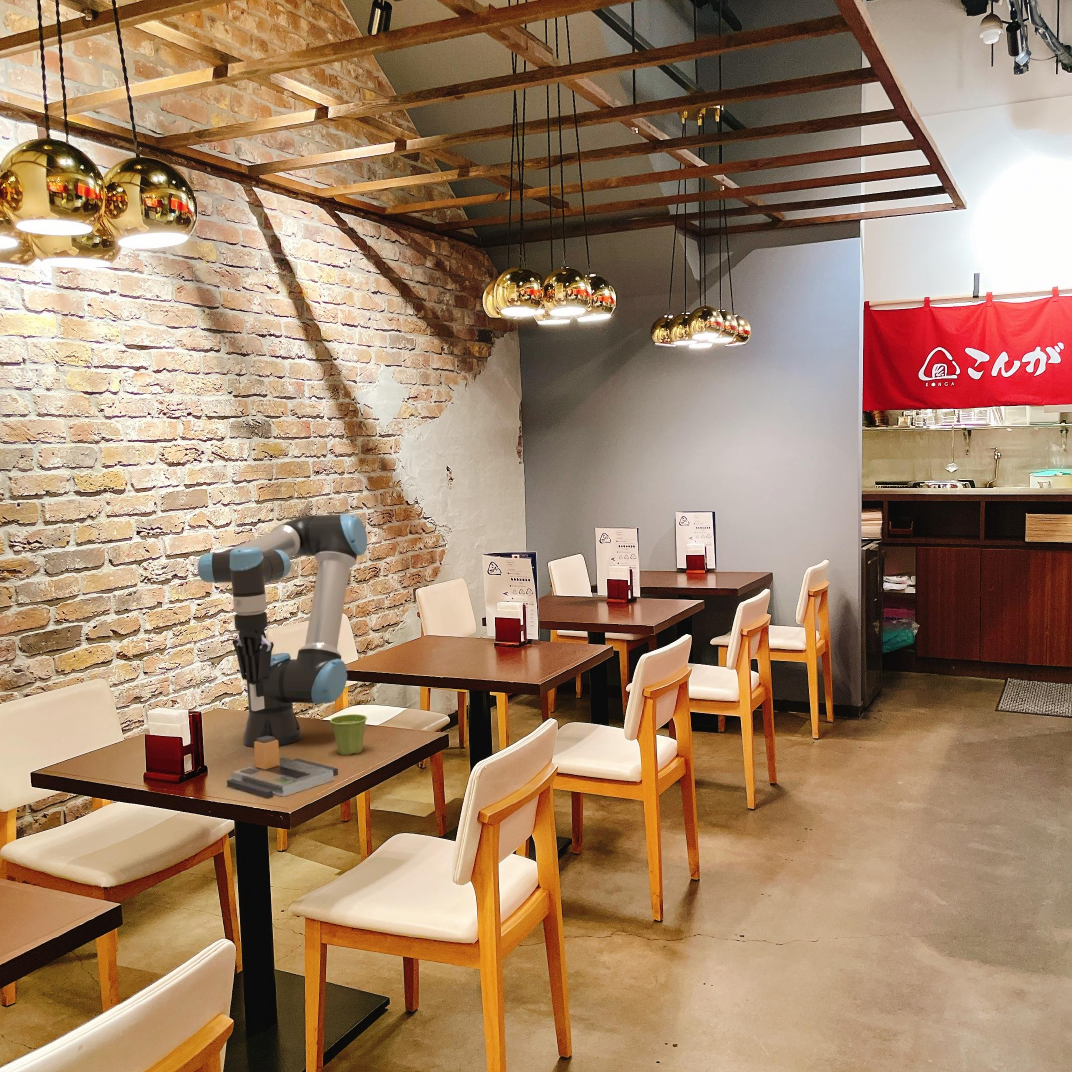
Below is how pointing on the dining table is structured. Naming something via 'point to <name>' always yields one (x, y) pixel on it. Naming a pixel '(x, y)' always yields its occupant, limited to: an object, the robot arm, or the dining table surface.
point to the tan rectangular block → (266, 752)
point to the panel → (285, 777)
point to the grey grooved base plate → (266, 792)
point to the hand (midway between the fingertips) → (258, 709)
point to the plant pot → (349, 733)
